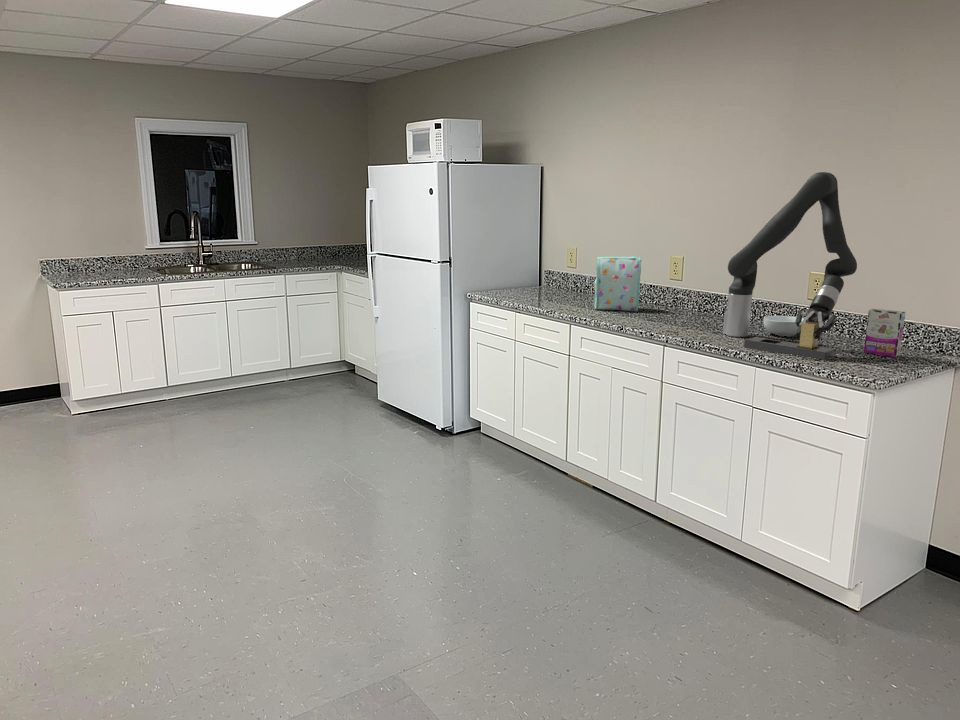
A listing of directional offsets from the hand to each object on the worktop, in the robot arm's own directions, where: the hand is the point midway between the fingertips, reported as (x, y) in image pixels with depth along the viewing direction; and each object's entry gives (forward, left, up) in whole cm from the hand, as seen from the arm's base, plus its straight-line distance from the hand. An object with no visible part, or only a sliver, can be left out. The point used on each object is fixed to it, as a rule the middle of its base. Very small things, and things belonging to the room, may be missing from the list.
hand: (807, 336), depth 264 cm
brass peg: (0, +2, -7) cm, 7 cm away
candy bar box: (+17, +26, -7) cm, 32 cm away
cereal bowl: (-25, +37, -7) cm, 45 cm away
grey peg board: (-7, +2, -7) cm, 10 cm away
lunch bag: (-114, +41, -8) cm, 121 cm away
